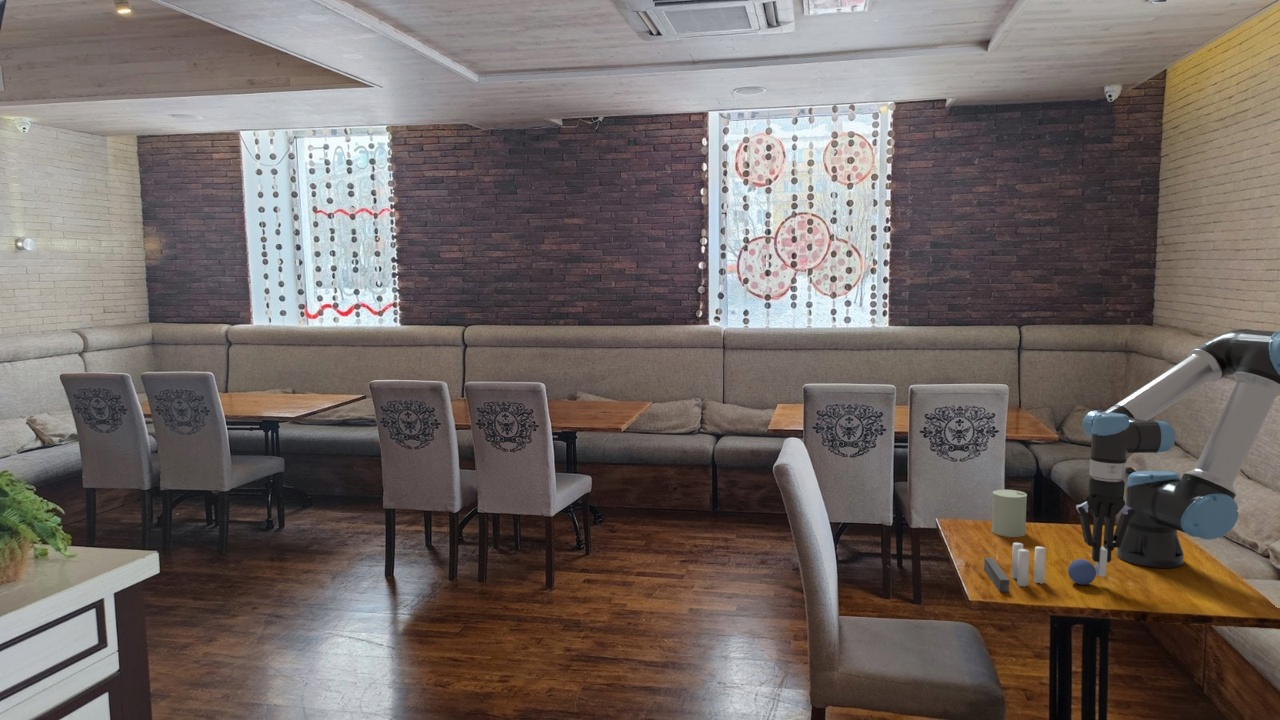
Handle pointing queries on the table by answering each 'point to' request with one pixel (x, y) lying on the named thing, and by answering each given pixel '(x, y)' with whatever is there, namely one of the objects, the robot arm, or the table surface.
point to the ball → (1082, 571)
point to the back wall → (996, 575)
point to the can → (1009, 513)
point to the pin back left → (1023, 567)
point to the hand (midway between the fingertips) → (1100, 574)
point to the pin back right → (1015, 559)
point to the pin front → (1039, 565)
